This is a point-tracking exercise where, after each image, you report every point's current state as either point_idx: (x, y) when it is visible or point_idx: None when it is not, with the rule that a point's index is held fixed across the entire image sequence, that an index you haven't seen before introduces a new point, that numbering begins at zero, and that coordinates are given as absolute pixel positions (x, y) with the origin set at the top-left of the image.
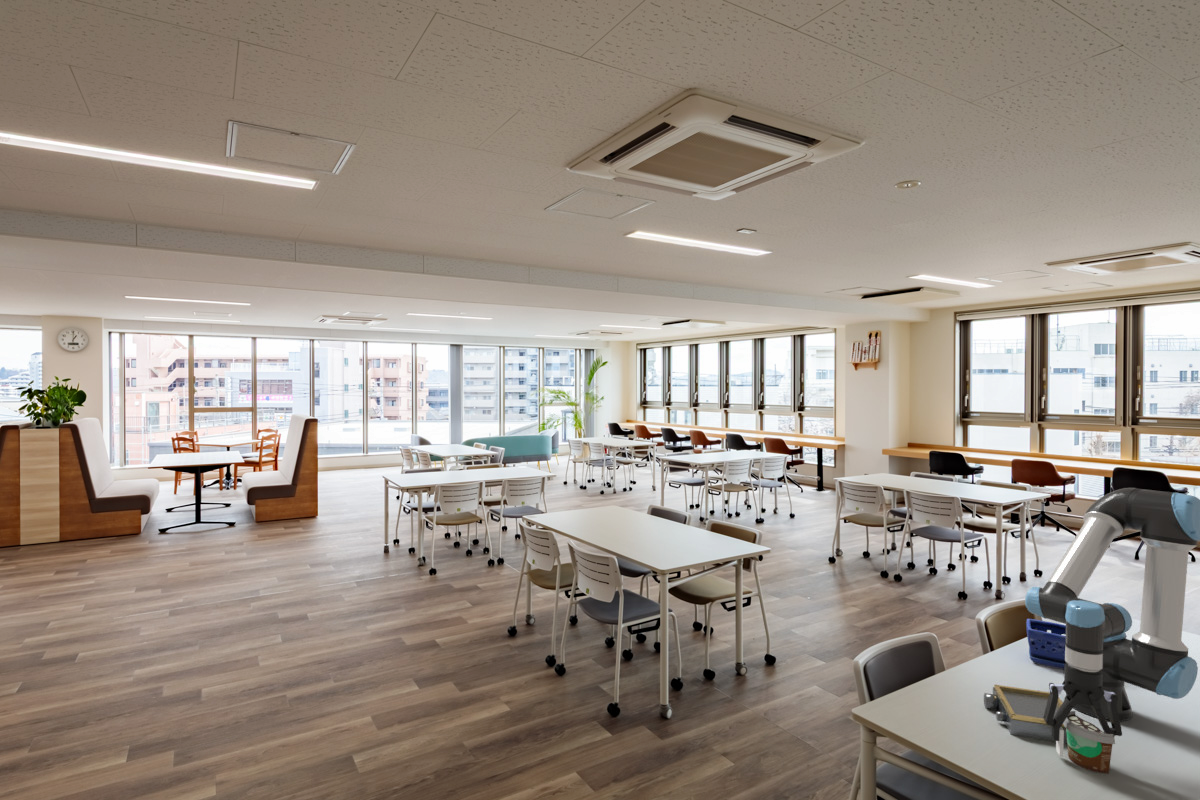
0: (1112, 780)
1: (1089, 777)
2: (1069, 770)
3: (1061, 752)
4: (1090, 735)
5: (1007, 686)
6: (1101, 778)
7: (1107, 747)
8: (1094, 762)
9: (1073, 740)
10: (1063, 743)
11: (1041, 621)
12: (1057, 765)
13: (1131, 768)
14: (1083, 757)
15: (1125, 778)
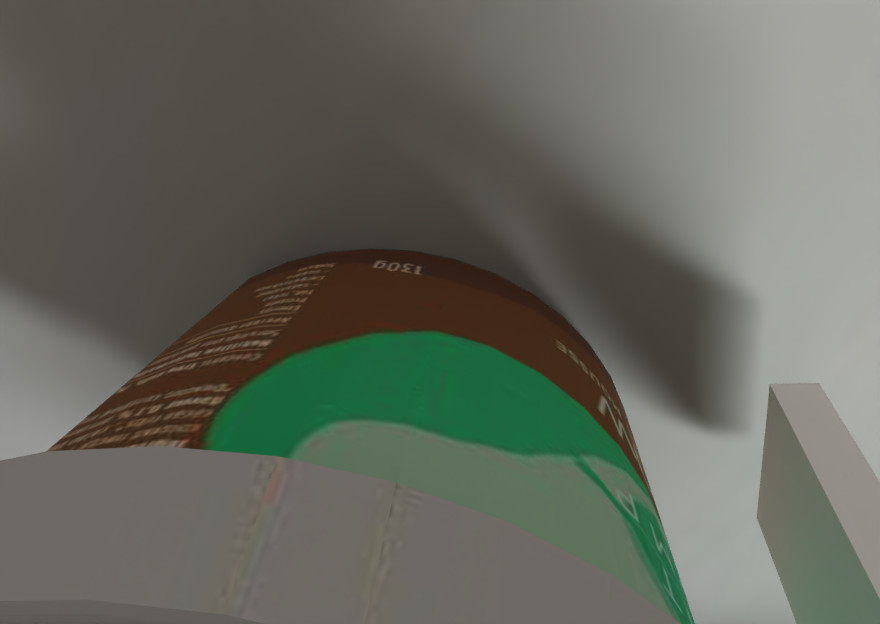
0: (233, 100)
1: (520, 45)
2: (749, 140)
3: (814, 415)
4: (410, 604)
5: None
6: (362, 93)
7: (102, 447)
8: (396, 295)
9: (675, 594)
10: (837, 519)
11: None
12: (874, 221)
13: None
14: (531, 356)
15: (81, 229)
